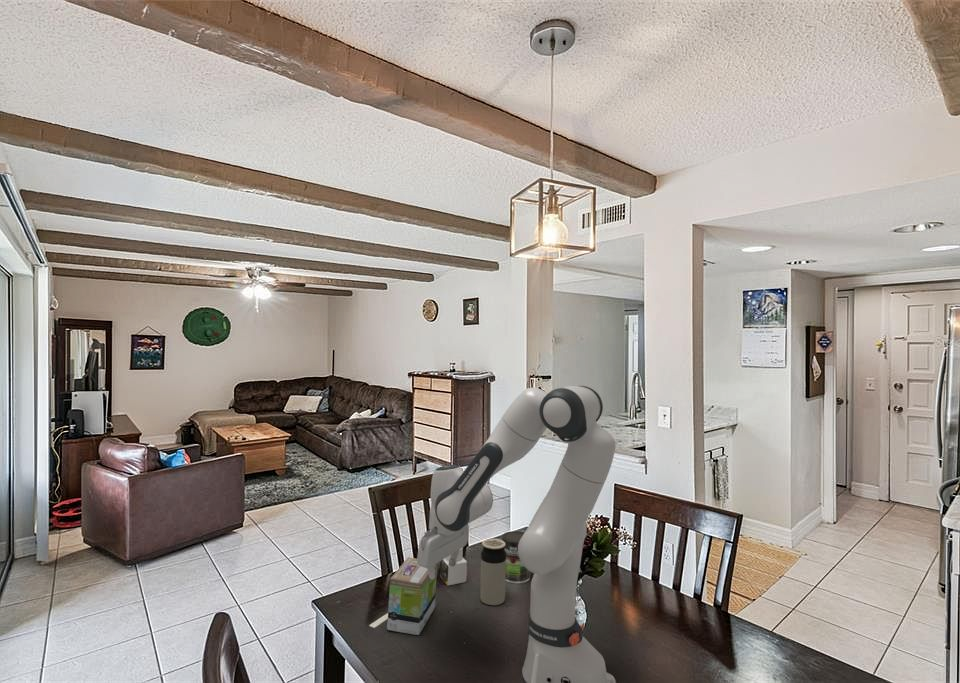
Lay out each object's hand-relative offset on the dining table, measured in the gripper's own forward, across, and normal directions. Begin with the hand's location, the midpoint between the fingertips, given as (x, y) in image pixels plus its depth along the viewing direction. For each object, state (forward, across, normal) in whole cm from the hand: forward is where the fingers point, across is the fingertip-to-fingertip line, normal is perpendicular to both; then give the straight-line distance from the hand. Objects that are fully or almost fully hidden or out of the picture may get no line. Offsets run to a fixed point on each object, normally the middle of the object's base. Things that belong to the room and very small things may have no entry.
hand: (442, 571), depth 138 cm
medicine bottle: (+17, +27, +14) cm, 35 cm away
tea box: (+17, 0, +10) cm, 20 cm away
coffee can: (+17, +41, -3) cm, 44 cm away
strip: (+17, -1, +17) cm, 24 cm away
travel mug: (+17, +23, -4) cm, 29 cm away
